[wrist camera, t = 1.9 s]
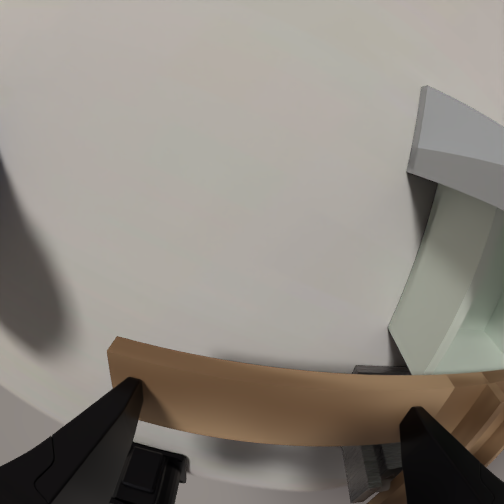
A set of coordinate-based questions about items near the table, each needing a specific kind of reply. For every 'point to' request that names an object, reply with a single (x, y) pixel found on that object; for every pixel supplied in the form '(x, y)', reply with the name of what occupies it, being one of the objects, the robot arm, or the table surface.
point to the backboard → (458, 147)
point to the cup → (455, 290)
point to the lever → (308, 403)
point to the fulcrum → (372, 452)
